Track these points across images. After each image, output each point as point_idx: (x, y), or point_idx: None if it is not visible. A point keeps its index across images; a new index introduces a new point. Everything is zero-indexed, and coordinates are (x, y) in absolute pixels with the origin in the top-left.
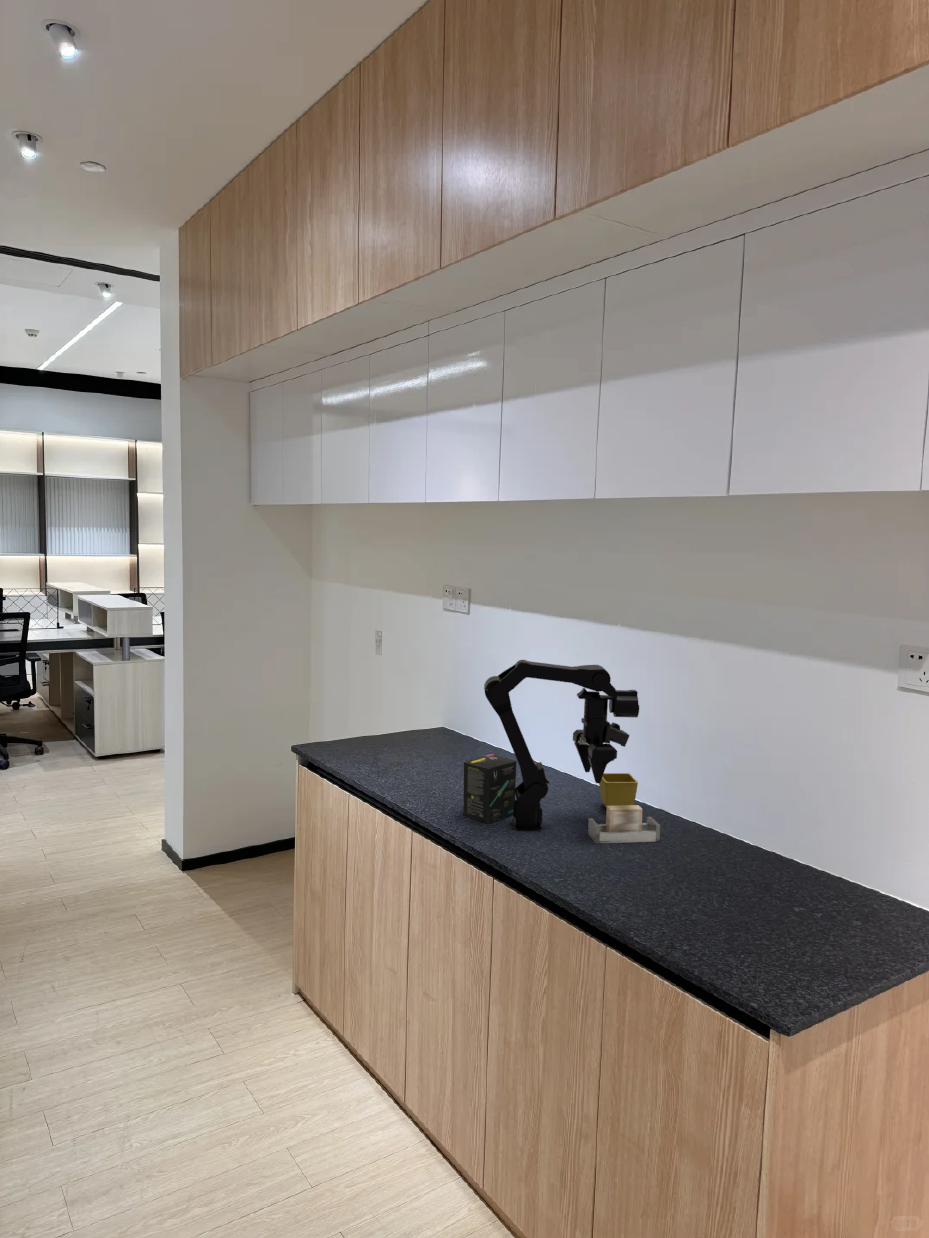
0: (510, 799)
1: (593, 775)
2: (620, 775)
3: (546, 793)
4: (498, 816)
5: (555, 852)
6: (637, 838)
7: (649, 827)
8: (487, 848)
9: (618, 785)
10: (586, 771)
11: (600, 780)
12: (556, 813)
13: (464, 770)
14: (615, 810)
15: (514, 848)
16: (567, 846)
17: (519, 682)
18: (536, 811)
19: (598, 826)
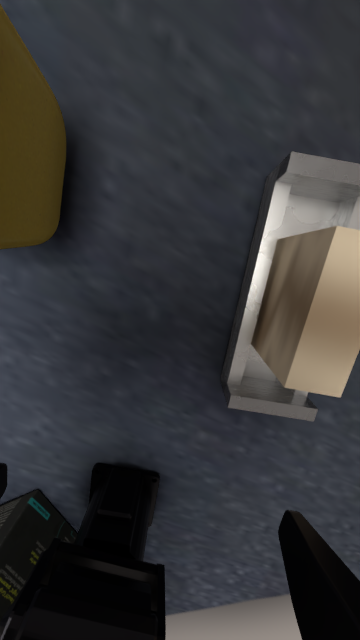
0: (22, 554)
1: (306, 634)
2: None
3: (150, 601)
4: (71, 542)
5: (303, 495)
6: None
7: (303, 189)
8: (231, 593)
9: (2, 169)
10: (4, 488)
11: (316, 536)
12: (42, 391)
13: None
14: (346, 374)
15: (249, 555)
16: (280, 459)
17: None
18: (138, 528)
19: (308, 410)
